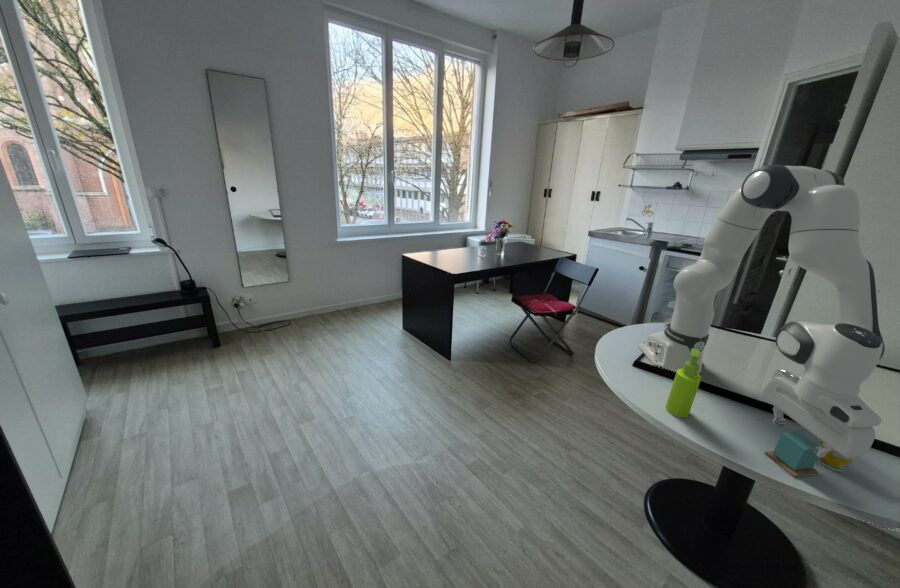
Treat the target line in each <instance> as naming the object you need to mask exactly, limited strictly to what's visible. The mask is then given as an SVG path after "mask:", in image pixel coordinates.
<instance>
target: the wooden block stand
mask: <svg viewBox="0 0 900 588" xmlns="http://www.w3.org/2000/svg"><path fill="white" fill-rule="evenodd" d="M773 451H774V450H770V451H769V450H767V451H765V452H764V454H765V455H766V457H768V458H769V459H771V461H773V462H774V463H775V464H776V465H778V466H779V467H780V468H781V469H782V470H784V472H786V473H787V474H788V475H790V476H791V477H792V478H796V477H805V476H812V475H813V476H815V475H819V474H820V471H819V470H817V469H816V468H814V467H813V468H810V469H802V470H793V469H792V468H790V467H789V466H788V465H787V464H785V463H784V462H783V461H782V460H781V459H779V458H778V457H777V456H776V455H774V454H773Z"/></svg>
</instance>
